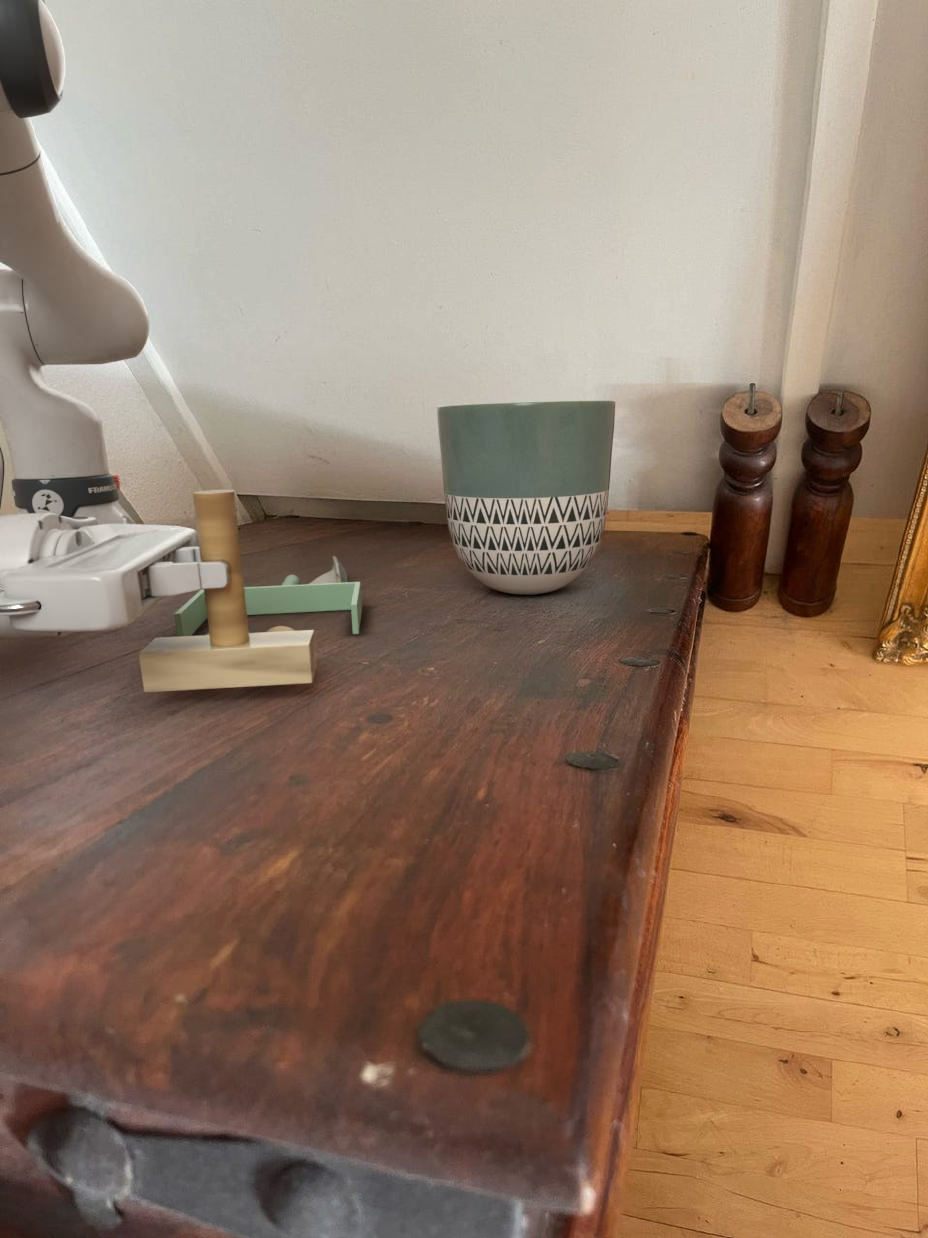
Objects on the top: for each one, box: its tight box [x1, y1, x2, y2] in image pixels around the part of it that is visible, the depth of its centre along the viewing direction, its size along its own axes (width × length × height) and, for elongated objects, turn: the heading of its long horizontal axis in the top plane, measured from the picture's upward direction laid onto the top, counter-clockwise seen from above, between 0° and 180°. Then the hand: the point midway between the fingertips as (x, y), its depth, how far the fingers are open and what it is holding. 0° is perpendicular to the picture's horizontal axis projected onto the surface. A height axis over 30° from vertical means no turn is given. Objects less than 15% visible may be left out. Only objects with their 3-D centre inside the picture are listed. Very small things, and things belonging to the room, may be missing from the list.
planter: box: [436, 400, 616, 596], centre depth 86 cm, size 20×20×21 cm
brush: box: [138, 489, 318, 693], centre depth 54 cm, size 4×12×14 cm, turn 96°
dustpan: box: [173, 574, 363, 637], centre depth 81 cm, size 20×17×3 cm
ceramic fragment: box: [308, 555, 348, 584], centre depth 92 cm, size 14×5×4 cm, turn 12°
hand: (234, 567), depth 54 cm, fingers closed on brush, 3 cm apart
